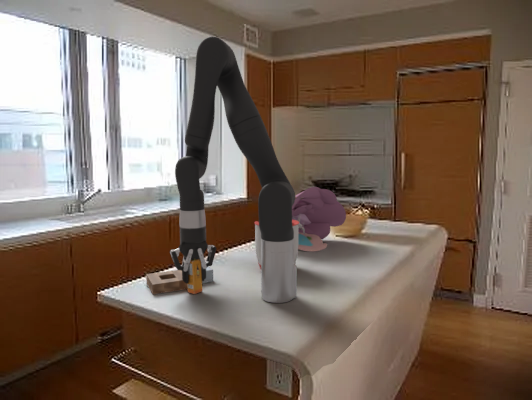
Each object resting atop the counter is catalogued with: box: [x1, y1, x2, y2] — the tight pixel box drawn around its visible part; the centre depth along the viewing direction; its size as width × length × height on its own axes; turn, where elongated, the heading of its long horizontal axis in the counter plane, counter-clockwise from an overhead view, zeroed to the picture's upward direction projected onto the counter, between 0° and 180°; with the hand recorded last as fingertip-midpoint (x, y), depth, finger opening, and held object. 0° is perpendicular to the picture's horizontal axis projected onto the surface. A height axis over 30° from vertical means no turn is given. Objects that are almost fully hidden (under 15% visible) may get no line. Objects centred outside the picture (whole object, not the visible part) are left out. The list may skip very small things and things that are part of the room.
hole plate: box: [145, 269, 188, 295], centre depth 126 cm, size 11×11×3 cm
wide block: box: [202, 266, 214, 284], centre depth 131 cm, size 6×6×4 cm
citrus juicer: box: [253, 220, 299, 270], centre depth 142 cm, size 16×17×20 cm
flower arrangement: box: [292, 186, 347, 252], centre depth 175 cm, size 35×24×28 cm
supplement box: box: [187, 259, 203, 295], centre depth 120 cm, size 3×3×10 cm
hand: (194, 281), depth 120 cm, fingers closed on supplement box, 4 cm apart
